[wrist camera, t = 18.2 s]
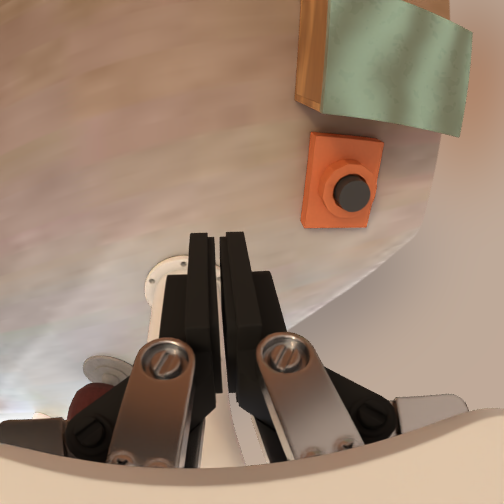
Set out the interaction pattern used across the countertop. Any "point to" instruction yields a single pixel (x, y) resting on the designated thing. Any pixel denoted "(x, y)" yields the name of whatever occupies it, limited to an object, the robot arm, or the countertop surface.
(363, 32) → the green box lid
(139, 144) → the countertop surface
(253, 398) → the robot arm
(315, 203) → the button block
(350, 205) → the button
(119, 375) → the mate gourd
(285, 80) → the countertop surface
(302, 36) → the wooden box
